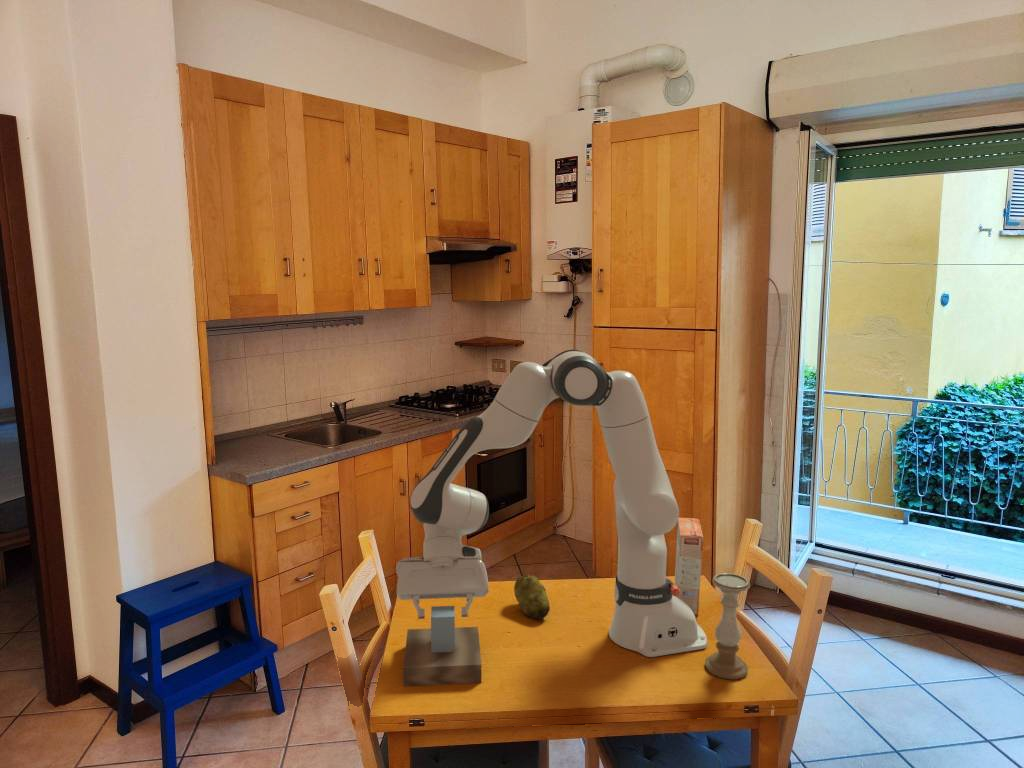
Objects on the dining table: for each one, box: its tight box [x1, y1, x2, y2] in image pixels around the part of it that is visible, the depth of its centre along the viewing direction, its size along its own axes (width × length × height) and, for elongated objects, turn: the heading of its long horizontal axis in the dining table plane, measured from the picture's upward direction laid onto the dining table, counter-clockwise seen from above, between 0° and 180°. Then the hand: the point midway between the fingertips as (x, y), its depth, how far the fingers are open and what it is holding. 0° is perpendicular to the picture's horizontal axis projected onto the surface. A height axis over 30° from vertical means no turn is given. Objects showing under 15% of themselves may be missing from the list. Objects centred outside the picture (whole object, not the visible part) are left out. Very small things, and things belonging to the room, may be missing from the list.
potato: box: [513, 573, 551, 620], centre depth 175 cm, size 8×13×8 cm, turn 4°
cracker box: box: [673, 517, 704, 616], centre depth 179 cm, size 14×6×21 cm, turn 168°
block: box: [430, 605, 456, 653], centre depth 150 cm, size 5×5×8 cm
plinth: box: [402, 626, 482, 687], centre depth 151 cm, size 16×16×4 cm
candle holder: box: [704, 572, 751, 680], centre depth 149 cm, size 9×9×20 cm
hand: (443, 617), depth 150 cm, fingers open, 8 cm apart
